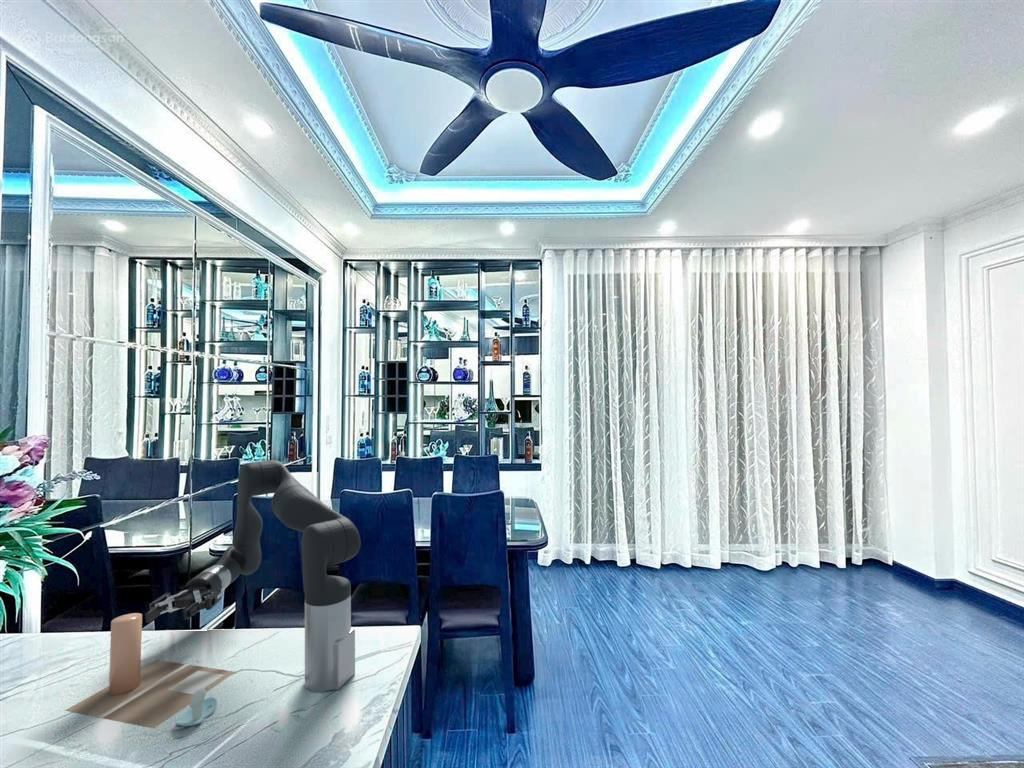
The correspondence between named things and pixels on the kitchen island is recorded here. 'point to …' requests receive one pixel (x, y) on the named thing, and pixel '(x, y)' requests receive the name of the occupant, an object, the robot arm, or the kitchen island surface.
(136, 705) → the board
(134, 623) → the cylinder
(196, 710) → the pacifier
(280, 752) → the kitchen island surface
